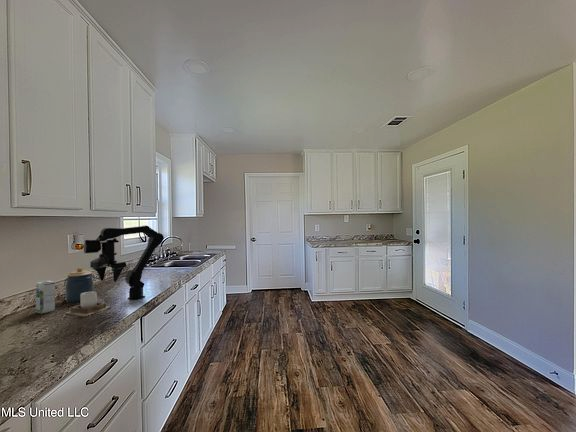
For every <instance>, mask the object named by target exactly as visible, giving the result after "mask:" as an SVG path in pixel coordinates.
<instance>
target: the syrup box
mask: <svg viewBox="0 0 576 432" xmlns="http://www.w3.org/2000/svg"><path fill="white" fill-rule="evenodd" d="M53 311H56V281H53V280H42V281H37V282H36V283H35V313H38V314H46V313H49V312H53Z"/></svg>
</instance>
